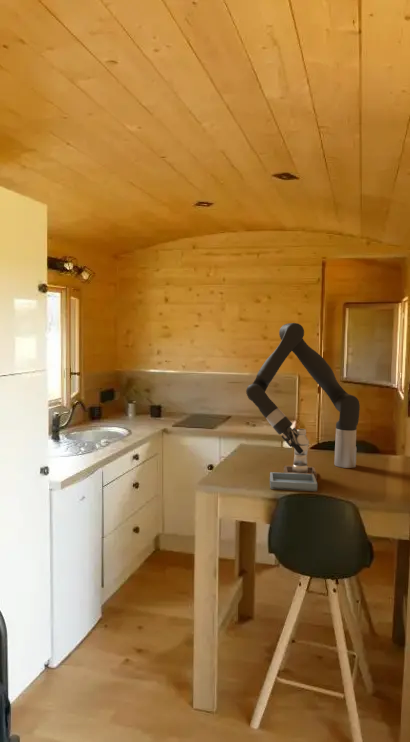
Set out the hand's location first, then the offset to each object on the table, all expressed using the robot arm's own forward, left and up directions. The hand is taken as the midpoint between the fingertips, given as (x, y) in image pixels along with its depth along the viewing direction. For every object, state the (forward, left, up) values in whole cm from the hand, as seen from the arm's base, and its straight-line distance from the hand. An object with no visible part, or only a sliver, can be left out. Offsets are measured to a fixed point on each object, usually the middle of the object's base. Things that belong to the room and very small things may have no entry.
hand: (304, 450), depth 240 cm
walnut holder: (+1, -1, -11) cm, 11 cm away
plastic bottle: (+1, -1, -11) cm, 11 cm away
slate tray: (+5, +14, -11) cm, 19 cm away
